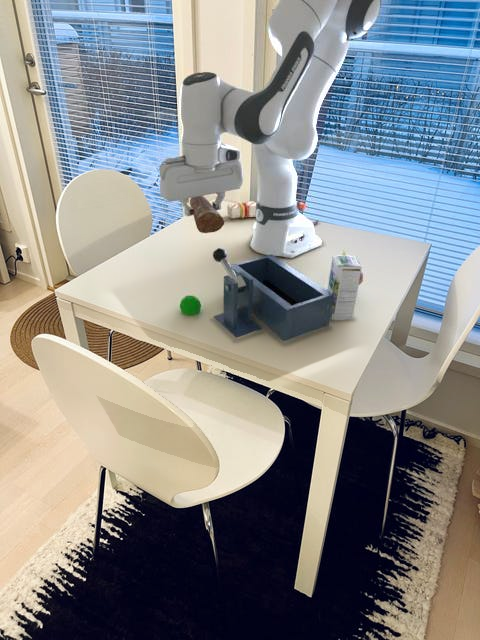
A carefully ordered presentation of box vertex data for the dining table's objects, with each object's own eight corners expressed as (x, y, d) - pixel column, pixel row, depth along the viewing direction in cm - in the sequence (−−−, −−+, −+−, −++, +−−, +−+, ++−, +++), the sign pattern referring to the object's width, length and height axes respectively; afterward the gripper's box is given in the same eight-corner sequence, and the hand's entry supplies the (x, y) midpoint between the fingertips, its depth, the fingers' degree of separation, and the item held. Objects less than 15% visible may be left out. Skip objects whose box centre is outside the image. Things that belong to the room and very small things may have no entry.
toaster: (269, 284, 134) (271, 254, 129) (329, 328, 117) (333, 294, 113) (228, 297, 128) (228, 265, 123) (284, 344, 111) (287, 310, 107)
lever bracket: (213, 320, 119) (213, 272, 112) (238, 312, 122) (239, 264, 115) (236, 341, 112) (237, 291, 105) (261, 332, 115) (264, 283, 108)
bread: (197, 237, 113) (196, 214, 110) (187, 208, 129) (186, 186, 126) (224, 235, 114) (224, 212, 111) (211, 206, 130) (211, 185, 127)
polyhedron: (193, 306, 124) (192, 289, 121) (205, 315, 121) (205, 297, 118) (176, 313, 121) (175, 296, 119) (188, 322, 118) (187, 304, 116)
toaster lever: (209, 256, 116) (211, 246, 114) (221, 253, 118) (224, 243, 115) (233, 295, 111) (236, 286, 109) (245, 292, 113) (249, 283, 110)
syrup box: (323, 308, 125) (330, 255, 117) (347, 307, 125) (355, 254, 117) (329, 321, 120) (336, 266, 112) (353, 320, 120) (362, 265, 113)
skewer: (231, 221, 171) (232, 207, 168) (226, 215, 176) (226, 201, 173) (288, 215, 177) (289, 201, 174) (280, 209, 182) (281, 195, 179)
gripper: (164, 163, 106) (169, 225, 114) (247, 151, 115) (245, 209, 123) (152, 156, 111) (157, 215, 118) (233, 144, 120) (232, 201, 127)
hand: (203, 212), depth 121 cm, fingers closed on bread, 6 cm apart
